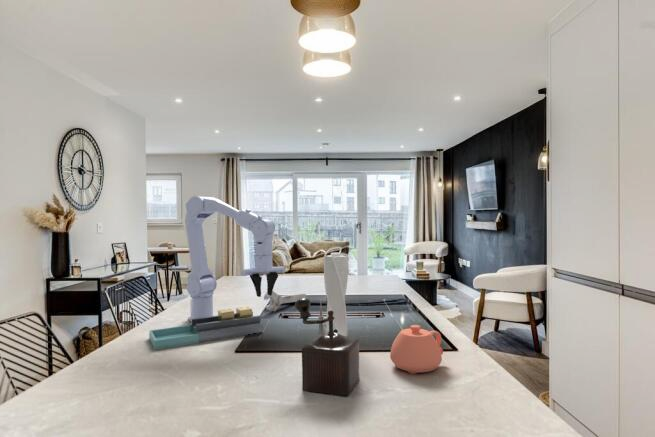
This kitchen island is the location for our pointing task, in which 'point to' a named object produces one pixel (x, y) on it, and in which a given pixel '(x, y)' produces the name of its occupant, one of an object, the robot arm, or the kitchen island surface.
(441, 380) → the kitchen island surface
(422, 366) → the sugar bowl
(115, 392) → the kitchen island surface
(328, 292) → the skyscraper
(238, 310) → the wooden cube
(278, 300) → the wrench
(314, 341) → the brown manual coffee grinder
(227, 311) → the chip
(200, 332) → the slot block
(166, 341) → the tray
